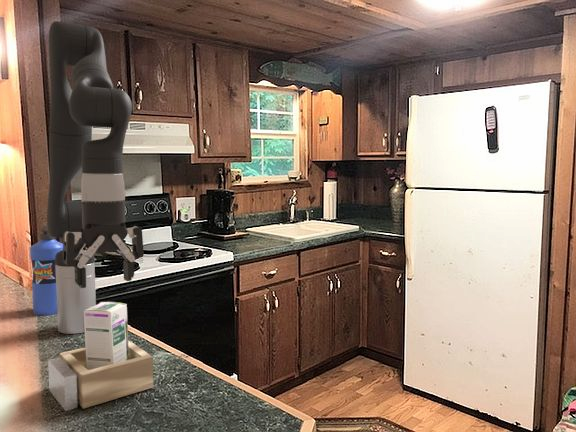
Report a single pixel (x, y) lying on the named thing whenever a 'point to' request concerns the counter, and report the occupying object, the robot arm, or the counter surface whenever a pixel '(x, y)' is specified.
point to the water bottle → (44, 273)
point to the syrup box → (106, 334)
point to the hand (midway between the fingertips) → (105, 283)
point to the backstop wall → (63, 383)
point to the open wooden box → (110, 376)
